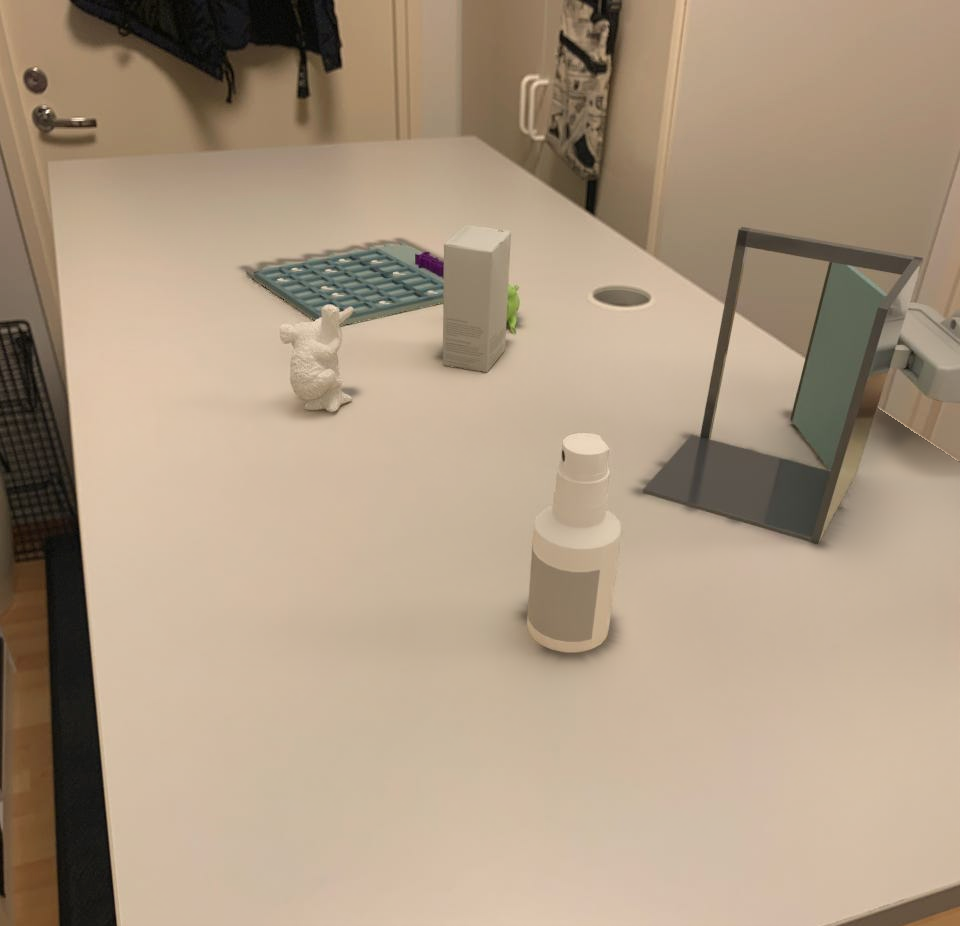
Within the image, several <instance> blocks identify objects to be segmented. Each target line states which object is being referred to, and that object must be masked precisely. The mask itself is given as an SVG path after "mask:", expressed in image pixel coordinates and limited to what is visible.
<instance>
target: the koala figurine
mask: <svg viewBox="0 0 960 926" xmlns="http://www.w3.org/2000/svg"><path fill="white" fill-rule="evenodd" d="M339 311H340V310H339V308H338V307H335V306H334V305H330V304H329V305H325V306H324V307H323V308H322V309H321V312H322V317H320V318H319V319H316V320H315V321H314V320H312V321H306V322H305V321H303V322H302V321H301V322H297V323H294V324H293V325H292V324H290V323H288V322H283V323H282V324H281V325H280V327H279V337H280V341H281V342H282V343H283V344H285V345H288V344H291V346H292V348H293V349H292V354H291V356H290V357H291V358H290V372H289V373H290V375H289V381H290V385H291V389H292V391H293V393H294V394H295V395H296V397H298V398H299V399H301V400H303V401H306V403H305V405H304V409H305V410H306V411H320V410H326V411H327V412H330V413H334V412H336V411H338V410H339V408H340V406H342V405H344V404H346V403H350V402H352V401H353V397H352V396H351V395H350V394H347V393H345V392H343V390H342V386H343V385H342V384H343V379H342V377H341V373H340V367H339V363H340V362H339V356H338V351H339V350H340V348H341V345H342V341H343V332H342V329H341V327H339V325H340V324H341V323H343V321H344V320H345V319H346V318H348V317H349V316H350V315H351V314H352V313H353V311H354V309H353V308H352V307H349V308H347V309H345V310H344V311H342V312H339Z"/></svg>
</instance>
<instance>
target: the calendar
mask: <svg viewBox="0 0 960 926" xmlns="http://www.w3.org/2000/svg"><path fill="white" fill-rule="evenodd" d="M280 264H281V265H280V266H263V268H262V270H256V271H253V272H252V271H249V270H245V274H246V275H247V276H248V277H250V278H251V279H253V280H254V282H256V281H257V282H256V283H258V284H259V283H260V284H261V286H262V285H263V286H264V288H265V287H266V288H267V289H266V288H265V289H266V290H268V289H269V290H270V291H269V290H268V291H269V292H271V291H272V292H273V293H272V292H271V293H272V294H274V293H275V294H276V295H275V294H274V295H275V296H277V295H278V296H279V297H278V296H277V297H278V298H280V297H281V298H282V299H281V298H280V299H281V300H283V299H284V300H285V301H284V300H283V301H284V302H286V301H287V302H288V303H287V302H286V303H287V304H288V305H290V304H291V305H290V306H291V307H293V306H294V307H295V308H294V307H293V308H294V309H296V308H297V309H298V310H297V309H296V310H297V311H299V310H300V311H301V313H302V312H303V313H304V314H303V313H302V314H303V315H305V314H306V315H307V316H306V315H305V316H306V317H308V316H309V317H310V318H309V317H308V318H309V319H311V318H312V319H313V320H312V319H311V320H312V321H314V320H316V319H319V318H320V317H322V312H321V309H322V308H323V307H324V306H325V305H329V304H330V305H334V306H335V307H338V308H339V310H340V311H339V312H342V311H344V310H345V309H347V308H349V307H352V308H353V309H354V311H353V313H352V314H351V315H350V316H349V317H348V318H346V319H345V320H344V321H343V323H341V324H340V325H339V326H341V327H343V326H342V325H346V324H350V325H352V324H351V323H354V324H356V323H355V322H359V321H363V322H365V321H364V320H368V319H372V320H374V319H373V318H376V319H378V318H377V317H381V318H383V317H382V316H385V317H387V316H386V315H390V314H394V315H396V314H395V313H398V314H400V313H399V312H403V313H405V312H404V311H407V312H409V311H408V310H412V311H414V310H413V309H416V310H418V309H417V308H420V309H422V308H421V307H425V308H427V307H426V306H429V307H431V306H430V305H434V306H436V305H435V304H438V305H440V304H439V303H442V304H443V293H444V260H440V259H439V257H434V256H433V255H431V252H430V251H423V252H422V251H421V250H419V249H416V248H414V247H412V246H410V245H407V244H405V243H403V242H401V241H399V244H383V246H370V247H369V249H368V250H359V249H355V250H352V251H349V252H347V253H342V254H341V253H340V254H339V253H338V254H335V253H334V254H329V256H328V257H323V258H322V257H321V258H320V257H319V258H318V257H317V258H316V257H315V258H314V257H313V258H307V261H305V262H287V263H286V262H284V263H283V262H282V263H280ZM260 284H259V285H260ZM263 286H262V287H263ZM300 311H299V312H300ZM390 316H391V315H390ZM368 321H369V320H368ZM359 323H360V322H359ZM346 326H347V325H346Z"/></svg>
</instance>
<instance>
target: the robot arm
mask: <svg viewBox="0 0 960 926" xmlns="http://www.w3.org/2000/svg"><path fill="white" fill-rule="evenodd" d="M890 368H891V369H898V370H899V371H900V372H901V373H902V374H903V375H904V376H905V377H906V378H907V379H908V380H909V381H910V382H911V383H912V385H914V386H915V387H916V388H917V389H918V390H919V391H920V392H921V393H922V394H923V395H924V396H925V397H926V398H928V399H931V400H934V401H937V402H939V403H940V402H941V403H953V404H960V307H959V308H957V309H956V310H955V311H954V312H953V313H952V314H951V315H950V317H947V318H946V317H945V316H944V315H942V314H941V313H940V312H938V311H937V310H936V309H935V308H933V307H931V306H930V305H929V304H928V305H927V304H926V303H925V304H924V303H921V302H913V301H910V303H909V306H908V310H907V313H906V316H905V319H904V323H903V326H902V329H901V332H900V335H899V339H898V342H897V345H896V348H895V352H894V355H893V358H892V361H891V364H890ZM890 368H889V369H890Z"/></svg>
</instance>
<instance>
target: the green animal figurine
mask: <svg viewBox="0 0 960 926" xmlns="http://www.w3.org/2000/svg"><path fill="white" fill-rule="evenodd" d="M519 289H520V286H519V285H518V284H515V285H514V286H512V285H511V284H509V283H508V300H507V320H506V324H507V325H508V327H509V329H510V331H511V332H512V334H514V333H516V334H517V329H516V327H515V326H516V325H517V320H518V319H517V316H516V314H517V313H518V311H519V310H520V309H519V308H520V304H521V301H520V297H519V294H518V293H517V291H519Z"/></svg>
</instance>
